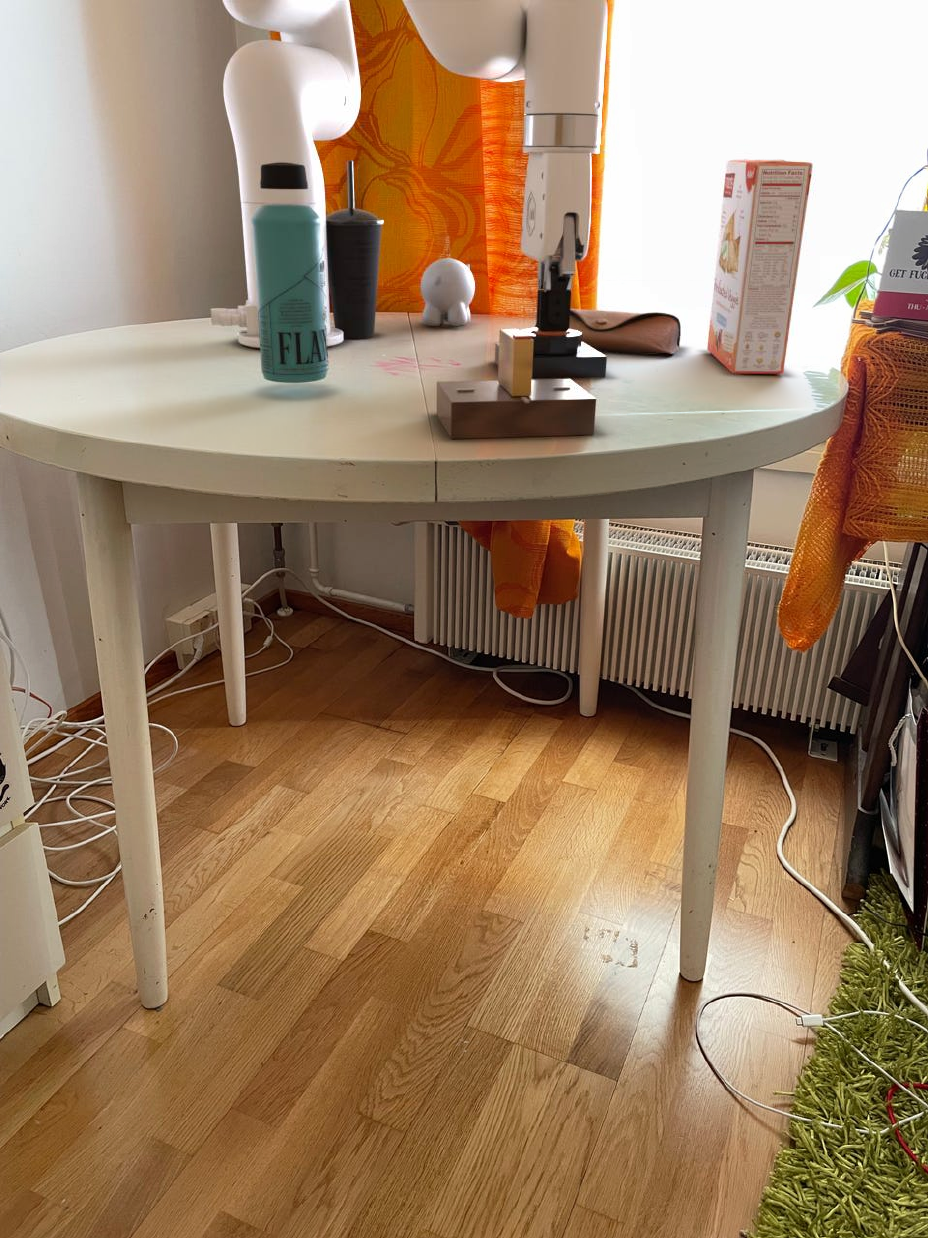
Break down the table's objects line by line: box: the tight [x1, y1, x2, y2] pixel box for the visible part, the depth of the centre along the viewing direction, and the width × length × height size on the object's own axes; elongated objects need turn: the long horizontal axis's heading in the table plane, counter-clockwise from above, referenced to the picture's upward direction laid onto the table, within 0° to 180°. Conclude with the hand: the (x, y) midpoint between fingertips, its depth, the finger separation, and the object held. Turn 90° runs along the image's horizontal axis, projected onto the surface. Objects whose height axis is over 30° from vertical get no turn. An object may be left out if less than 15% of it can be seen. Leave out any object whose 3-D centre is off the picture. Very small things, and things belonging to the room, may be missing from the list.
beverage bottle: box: [251, 162, 330, 384], centre depth 91 cm, size 6×7×20 cm
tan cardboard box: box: [497, 328, 534, 396], centre depth 82 cm, size 6×2×5 cm, turn 11°
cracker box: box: [706, 158, 814, 375], centre depth 107 cm, size 14×6×21 cm, turn 178°
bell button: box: [533, 328, 568, 336], centre depth 105 cm, size 4×4×2 cm
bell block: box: [494, 327, 608, 380], centre depth 105 cm, size 10×9×4 cm
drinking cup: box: [326, 160, 385, 340], centre depth 120 cm, size 8×8×20 cm
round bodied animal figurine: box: [420, 257, 476, 327], centre depth 134 cm, size 7×12×8 cm, turn 165°
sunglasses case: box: [534, 307, 682, 355], centre depth 119 cm, size 18×7×7 cm
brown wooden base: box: [436, 378, 597, 440], centre depth 84 cm, size 12×10×3 cm
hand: (552, 329), depth 104 cm, fingers closed
